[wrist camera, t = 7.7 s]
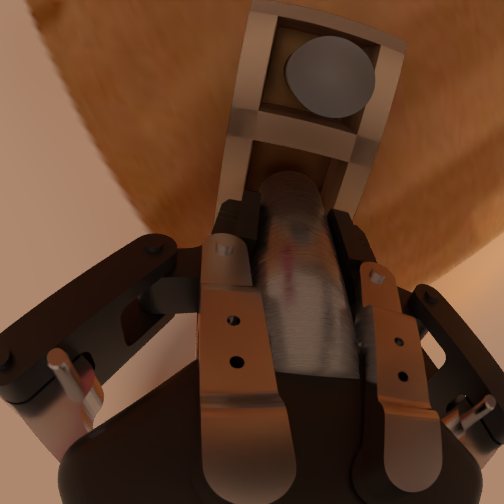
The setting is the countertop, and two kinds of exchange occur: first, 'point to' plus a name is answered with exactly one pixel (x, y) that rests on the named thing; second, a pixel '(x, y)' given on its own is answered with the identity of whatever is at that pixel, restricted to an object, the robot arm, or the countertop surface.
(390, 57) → the wooden divided tray
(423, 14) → the countertop surface
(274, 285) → the pin
